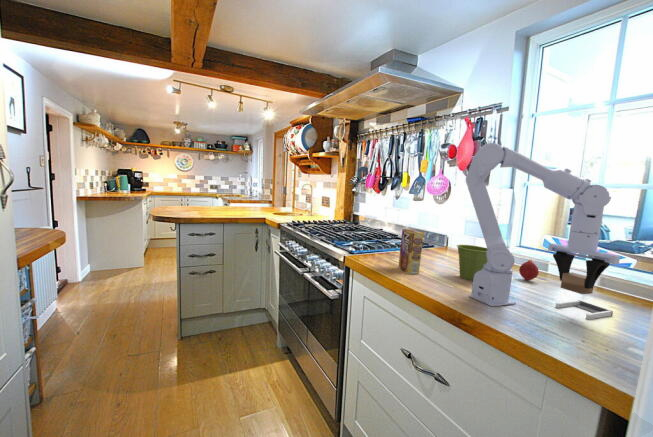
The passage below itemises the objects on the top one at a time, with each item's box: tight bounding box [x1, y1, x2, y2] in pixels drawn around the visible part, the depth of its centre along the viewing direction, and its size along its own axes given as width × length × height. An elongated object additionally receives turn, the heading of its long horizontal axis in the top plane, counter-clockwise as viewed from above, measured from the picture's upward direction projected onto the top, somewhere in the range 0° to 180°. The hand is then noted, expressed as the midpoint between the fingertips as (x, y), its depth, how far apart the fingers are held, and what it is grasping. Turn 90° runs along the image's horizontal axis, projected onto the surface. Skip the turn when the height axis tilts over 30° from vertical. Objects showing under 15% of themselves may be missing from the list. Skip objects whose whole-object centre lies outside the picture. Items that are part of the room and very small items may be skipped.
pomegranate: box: [518, 258, 539, 282], centre depth 107 cm, size 6×6×8 cm
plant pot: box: [456, 244, 488, 282], centre depth 105 cm, size 12×12×11 cm
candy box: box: [397, 228, 425, 275], centre depth 109 cm, size 9×4×15 cm, turn 13°
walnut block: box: [560, 272, 594, 295], centre depth 76 cm, size 4×5×4 cm
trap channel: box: [554, 299, 614, 320], centre depth 80 cm, size 11×8×1 cm
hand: (575, 284), depth 76 cm, fingers closed on walnut block, 5 cm apart
